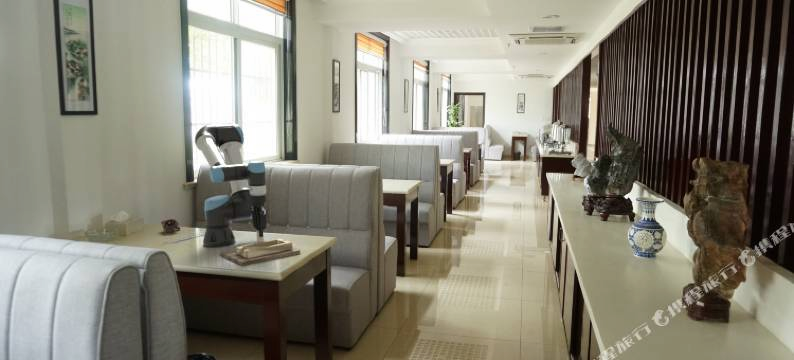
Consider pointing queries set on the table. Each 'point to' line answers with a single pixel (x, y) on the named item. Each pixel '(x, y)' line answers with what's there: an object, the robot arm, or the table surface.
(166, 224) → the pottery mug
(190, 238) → the plaque
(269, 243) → the wooden tray
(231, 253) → the display board
